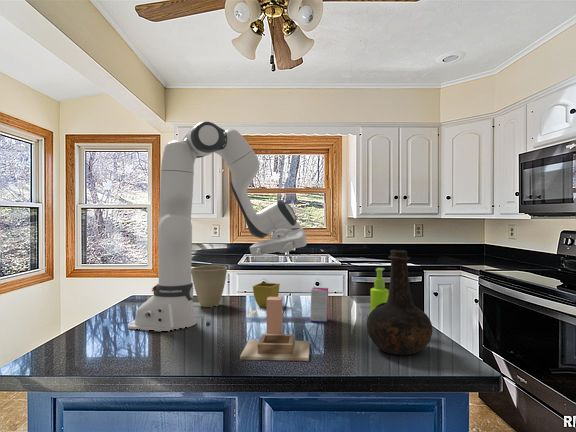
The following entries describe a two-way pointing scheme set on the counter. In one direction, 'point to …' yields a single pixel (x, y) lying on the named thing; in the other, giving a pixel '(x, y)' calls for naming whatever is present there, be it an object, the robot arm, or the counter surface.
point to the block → (274, 315)
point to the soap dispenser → (378, 290)
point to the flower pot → (265, 292)
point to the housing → (276, 348)
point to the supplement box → (319, 305)
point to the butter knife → (252, 313)
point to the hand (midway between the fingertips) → (271, 251)
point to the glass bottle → (399, 315)
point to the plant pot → (209, 284)
